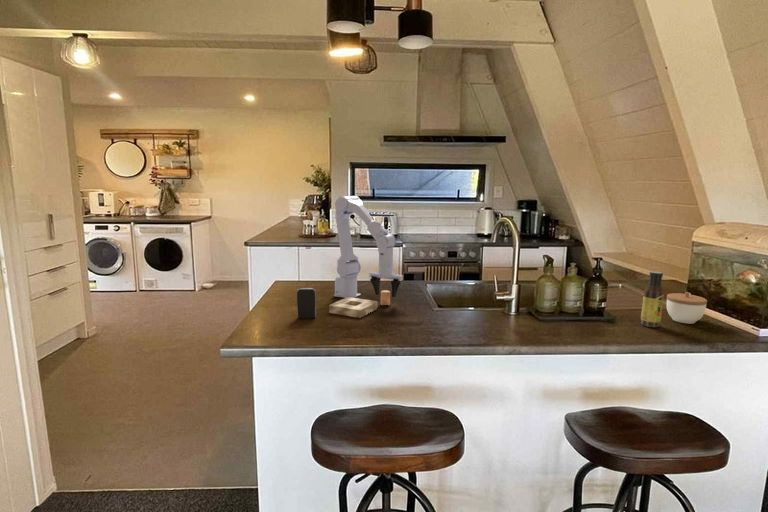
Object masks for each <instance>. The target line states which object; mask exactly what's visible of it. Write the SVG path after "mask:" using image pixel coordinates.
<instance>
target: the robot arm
mask: <svg viewBox="0 0 768 512" xmlns="http://www.w3.org/2000/svg"><path fill="white" fill-rule="evenodd" d="M334 206H335V222H336V229H337V236H338V242H339V250H340V256H339V258H337V260H336V261H337V262H336V263H337V267H336V272H337V274H338V275H337V276H336V277H335V281H334V294H333V296H334V297H338V298H342V299H344V298H346V297H352V298H358V296H361V295H362V294H361V293H360V292H359V293H358V276H359V273H360V272H361V268H362V267H361V263H360V262H359V258H358V256H357V255H355V254H354V248H353V241H352V236H351V227H350V221H349V218H350V217H351V216H352V215H353V214H356V215H357V216H358V217H359V218H360V219H361V220H362V222H363V223H364V224H365V225H366V226H367V228H366V230H367V231H368V233H369V234H370V235H371V236H372V237H373V239H374V240H375V245H376V248H377V250H378V251H377V252H378V272H377V271H376V272H375V271H371V272H369V273H368V277H369V278H370V279H369V281H370V282H371V285H372V286H373V289H374V293H375V294H374V295H375V296H378V295H380V283H381V279H384V280H386V279H387V280H391V281H390V284H391V298H395V297H396V296H397V292H398V289H399V286H400V284H401V283H402V281H403V280H404V279H403V278H404V275H401V274H398V273H397V274H396V273H394V267H393V266H394V247H395V246H396V245H397V244H396V243H397V241H396V240H397V239H396V236H395V235H394V234H393V233H389V232H388V230H386V229H385V228H384V226H383V225H382V223H381V221H378V220H374V219H373V217H372V216H371V214H370V213H369V211H368V210H367V209H366V207H365V205H364V204H363V201H362V199H360V197H359V196H357V195H349V196H348V195H345V196H344V195H340V196H339V197H337V199H336V201H335V202H334Z"/></svg>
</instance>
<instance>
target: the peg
mask: <svg viewBox="0 0 768 512" xmlns="http://www.w3.org/2000/svg"><path fill="white" fill-rule="evenodd" d="M383 305H388V306H391V291H390V290H387V289H386V290H385V289H384V290H381V291H380V306H383Z"/></svg>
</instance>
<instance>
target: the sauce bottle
mask: <svg viewBox="0 0 768 512" xmlns="http://www.w3.org/2000/svg"><path fill="white" fill-rule="evenodd" d="M648 275H649V282H648V284H647V286H645V288H644V289H643V290H644V292H643V297H642V304H641V314H640V324H641V326H644V327H648V328H658V327H660V326H661V321H662V313H663V304H664V296H665V293H664V289H663V287H662V279H663V276H664V273H663V272H661V271H655V270H651V271H649V274H648Z"/></svg>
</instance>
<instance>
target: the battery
mask: <svg viewBox="0 0 768 512" xmlns="http://www.w3.org/2000/svg"><path fill="white" fill-rule="evenodd" d="M316 296H317V293H316V289H315V288H314V287H299V288H298V289H297V291H296V308H297V309H296V310H297V315H296V316H297V317H296V318H297V319H301V320H303V319H315V318H317V317H316V314H317V312H316V310H317V309H316V307H317V297H316Z"/></svg>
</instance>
